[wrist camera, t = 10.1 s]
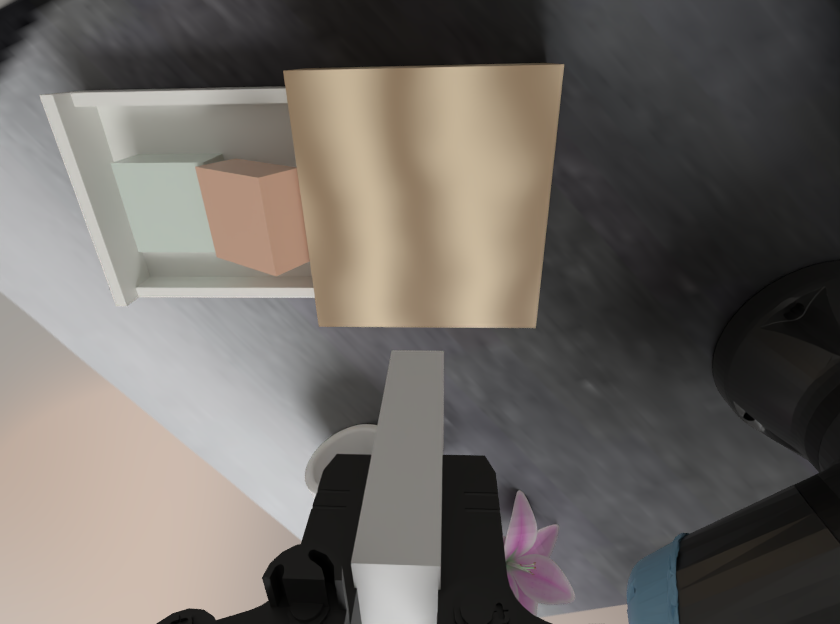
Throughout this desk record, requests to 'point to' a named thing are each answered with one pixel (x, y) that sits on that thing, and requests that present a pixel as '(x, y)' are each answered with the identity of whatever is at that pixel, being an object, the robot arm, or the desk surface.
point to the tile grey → (165, 201)
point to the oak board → (425, 190)
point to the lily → (533, 560)
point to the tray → (169, 134)
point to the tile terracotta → (255, 214)
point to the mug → (339, 451)
